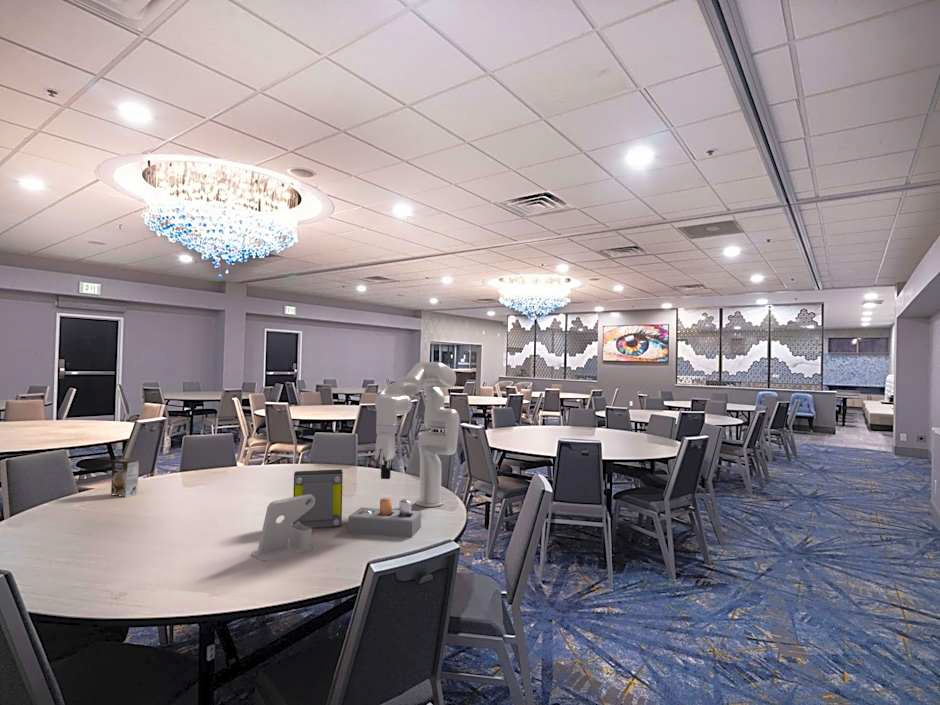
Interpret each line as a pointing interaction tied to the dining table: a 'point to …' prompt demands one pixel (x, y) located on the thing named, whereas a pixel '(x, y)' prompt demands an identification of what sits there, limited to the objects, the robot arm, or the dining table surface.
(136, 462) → the coffee box
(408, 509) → the plunger
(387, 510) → the plunger rust
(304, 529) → the phone holder
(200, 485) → the dining table surface
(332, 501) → the electrical component
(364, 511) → the plunger
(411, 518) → the grey rectangular block
